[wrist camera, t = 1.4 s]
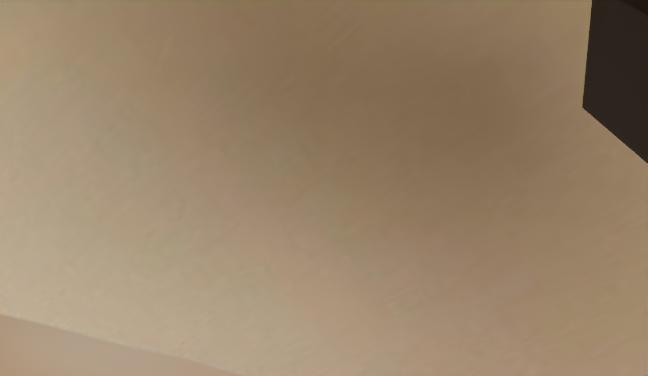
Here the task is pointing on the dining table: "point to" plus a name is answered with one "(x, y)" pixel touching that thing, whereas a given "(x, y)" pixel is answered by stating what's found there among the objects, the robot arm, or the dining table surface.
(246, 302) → the dining table surface
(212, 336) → the dining table surface
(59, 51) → the dining table surface
